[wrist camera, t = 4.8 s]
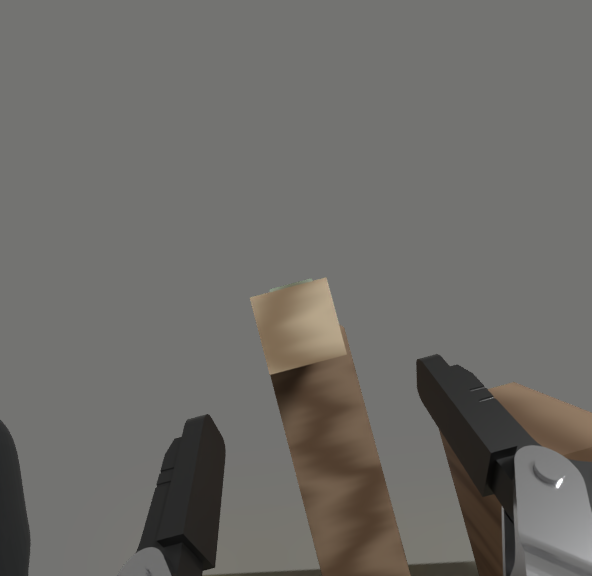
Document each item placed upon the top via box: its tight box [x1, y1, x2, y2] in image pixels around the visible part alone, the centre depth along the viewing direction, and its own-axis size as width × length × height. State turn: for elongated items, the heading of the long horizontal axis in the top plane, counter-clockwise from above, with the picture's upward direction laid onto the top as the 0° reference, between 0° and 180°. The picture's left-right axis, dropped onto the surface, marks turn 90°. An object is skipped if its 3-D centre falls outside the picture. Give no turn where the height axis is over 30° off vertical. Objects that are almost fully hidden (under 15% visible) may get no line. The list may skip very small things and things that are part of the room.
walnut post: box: [271, 325, 411, 576], centre depth 25 cm, size 6×11×32 cm, turn 0°
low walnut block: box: [439, 382, 592, 576], centre depth 21 cm, size 8×10×22 cm
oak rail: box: [250, 278, 347, 375], centre depth 22 cm, size 4×19×4 cm, turn 0°
